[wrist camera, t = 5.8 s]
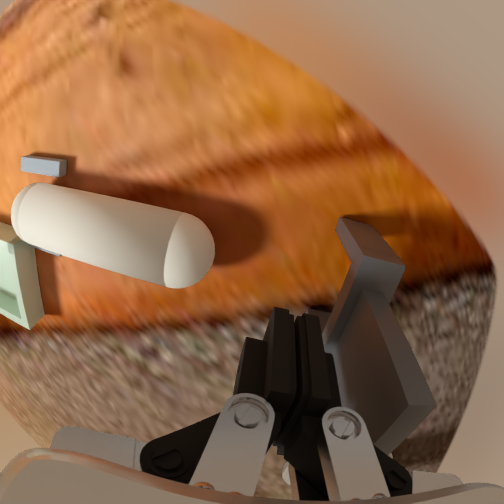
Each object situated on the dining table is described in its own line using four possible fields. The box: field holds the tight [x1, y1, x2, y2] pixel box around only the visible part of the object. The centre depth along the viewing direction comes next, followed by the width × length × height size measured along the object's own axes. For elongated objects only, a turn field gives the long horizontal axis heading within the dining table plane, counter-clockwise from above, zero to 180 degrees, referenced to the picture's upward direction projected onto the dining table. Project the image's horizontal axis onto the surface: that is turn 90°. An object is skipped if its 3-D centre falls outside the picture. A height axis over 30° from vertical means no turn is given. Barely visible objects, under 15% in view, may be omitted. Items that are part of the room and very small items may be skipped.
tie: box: [306, 217, 436, 455], centre depth 12 cm, size 2×7×11 cm, turn 167°
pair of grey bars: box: [21, 155, 67, 256], centre depth 17 cm, size 4×7×1 cm, turn 168°
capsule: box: [11, 183, 215, 288], centre depth 15 cm, size 14×4×4 cm, turn 77°
